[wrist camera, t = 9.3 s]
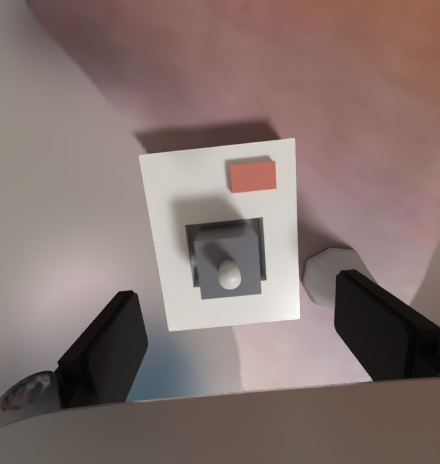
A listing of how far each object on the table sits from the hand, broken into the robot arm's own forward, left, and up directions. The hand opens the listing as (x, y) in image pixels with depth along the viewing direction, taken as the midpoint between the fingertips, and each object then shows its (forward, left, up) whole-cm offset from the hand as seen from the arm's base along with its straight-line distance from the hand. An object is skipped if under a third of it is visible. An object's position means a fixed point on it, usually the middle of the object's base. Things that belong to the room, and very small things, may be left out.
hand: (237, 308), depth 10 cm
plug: (+1, 0, -13) cm, 13 cm away
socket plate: (0, 0, -14) cm, 14 cm away
